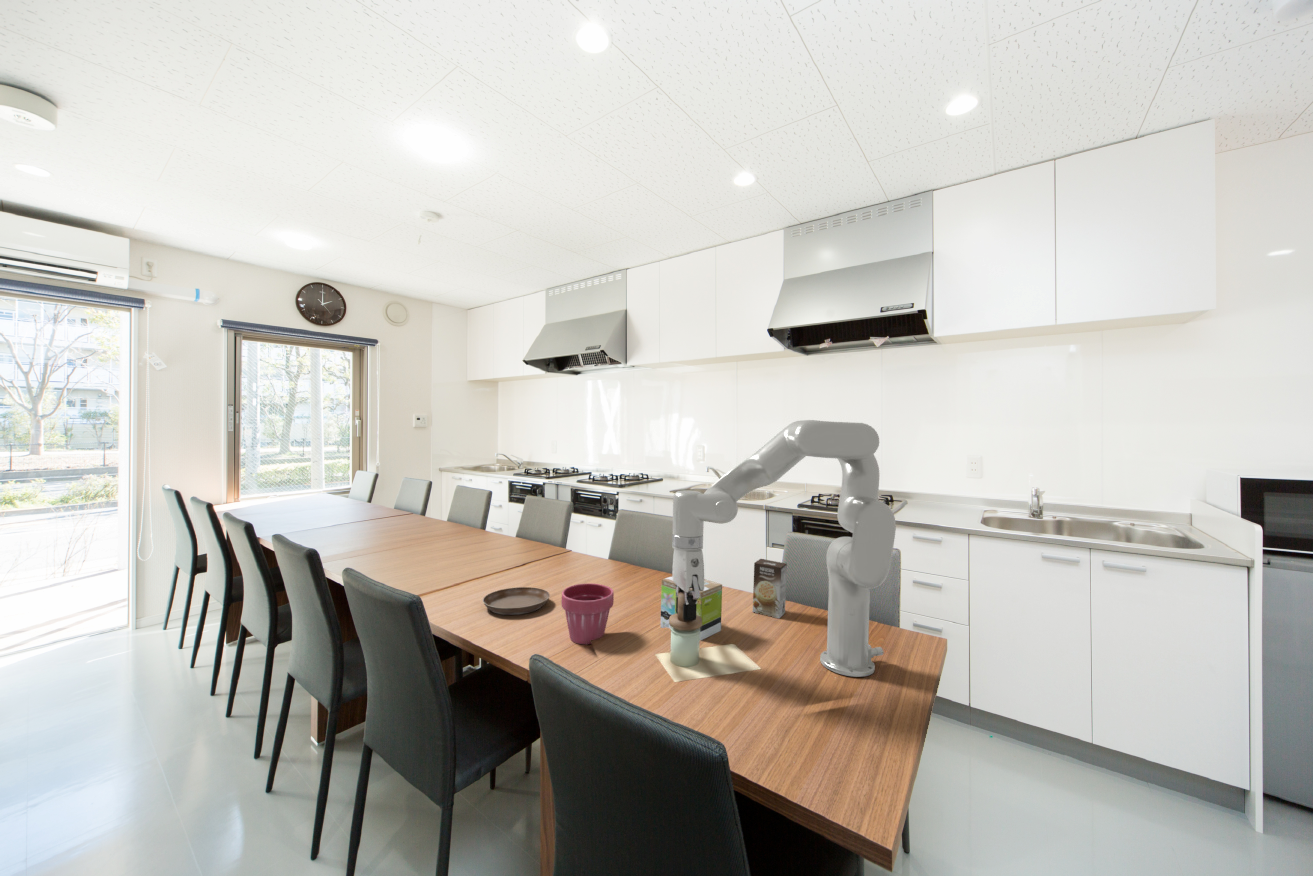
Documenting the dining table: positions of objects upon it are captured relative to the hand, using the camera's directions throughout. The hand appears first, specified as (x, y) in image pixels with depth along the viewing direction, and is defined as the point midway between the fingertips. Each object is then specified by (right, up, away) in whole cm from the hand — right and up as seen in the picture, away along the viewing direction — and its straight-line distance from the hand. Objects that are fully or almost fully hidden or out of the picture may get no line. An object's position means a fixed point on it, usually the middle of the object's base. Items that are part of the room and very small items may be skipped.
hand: (685, 615), depth 118 cm
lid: (0, -2, 0) cm, 2 cm away
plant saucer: (-52, -11, +37) cm, 65 cm away
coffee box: (+29, -13, +36) cm, 48 cm away
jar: (0, -11, 0) cm, 11 cm away
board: (+5, -12, 0) cm, 13 cm away
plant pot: (-26, -12, +15) cm, 32 cm away
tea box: (+2, -12, +20) cm, 24 cm away
